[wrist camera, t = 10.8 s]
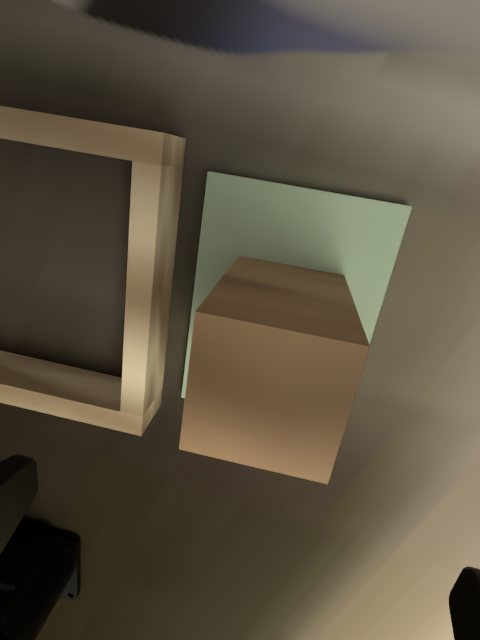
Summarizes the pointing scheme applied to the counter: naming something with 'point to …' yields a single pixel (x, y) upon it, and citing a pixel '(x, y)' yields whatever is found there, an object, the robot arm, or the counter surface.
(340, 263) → the mat
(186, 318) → the counter surface
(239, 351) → the walnut block
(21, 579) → the robot arm
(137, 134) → the beige flat rectangular frame
